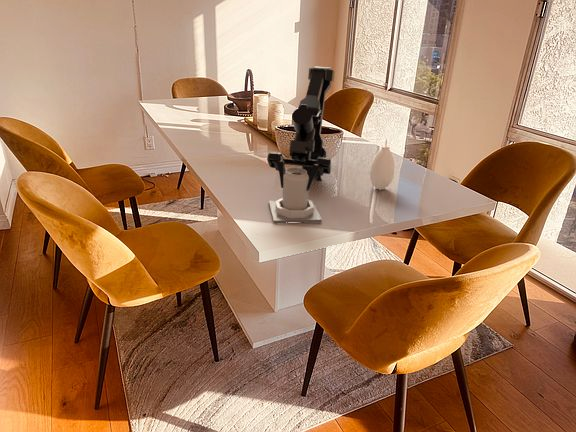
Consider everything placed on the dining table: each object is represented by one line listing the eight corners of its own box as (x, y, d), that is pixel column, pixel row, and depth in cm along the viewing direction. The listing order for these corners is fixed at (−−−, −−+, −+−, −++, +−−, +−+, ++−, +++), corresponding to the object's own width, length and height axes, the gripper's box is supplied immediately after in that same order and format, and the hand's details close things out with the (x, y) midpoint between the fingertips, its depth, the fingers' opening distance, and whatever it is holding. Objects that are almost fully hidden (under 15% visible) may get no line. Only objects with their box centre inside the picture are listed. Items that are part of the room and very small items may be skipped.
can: (281, 212, 131) (283, 174, 126) (282, 202, 138) (283, 165, 133) (307, 213, 131) (309, 175, 126) (306, 203, 138) (309, 166, 133)
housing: (312, 203, 142) (313, 194, 141) (321, 222, 130) (322, 213, 129) (268, 203, 140) (269, 195, 139) (273, 223, 128) (274, 214, 127)
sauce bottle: (381, 183, 161) (388, 134, 153) (395, 191, 155) (403, 140, 147) (363, 186, 157) (370, 136, 150) (377, 194, 151) (385, 143, 143)
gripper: (269, 125, 129) (258, 173, 125) (333, 131, 126) (325, 181, 121) (275, 143, 140) (265, 189, 135) (334, 149, 137) (326, 196, 132)
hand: (294, 189), depth 131 cm, fingers closed on can, 7 cm apart
